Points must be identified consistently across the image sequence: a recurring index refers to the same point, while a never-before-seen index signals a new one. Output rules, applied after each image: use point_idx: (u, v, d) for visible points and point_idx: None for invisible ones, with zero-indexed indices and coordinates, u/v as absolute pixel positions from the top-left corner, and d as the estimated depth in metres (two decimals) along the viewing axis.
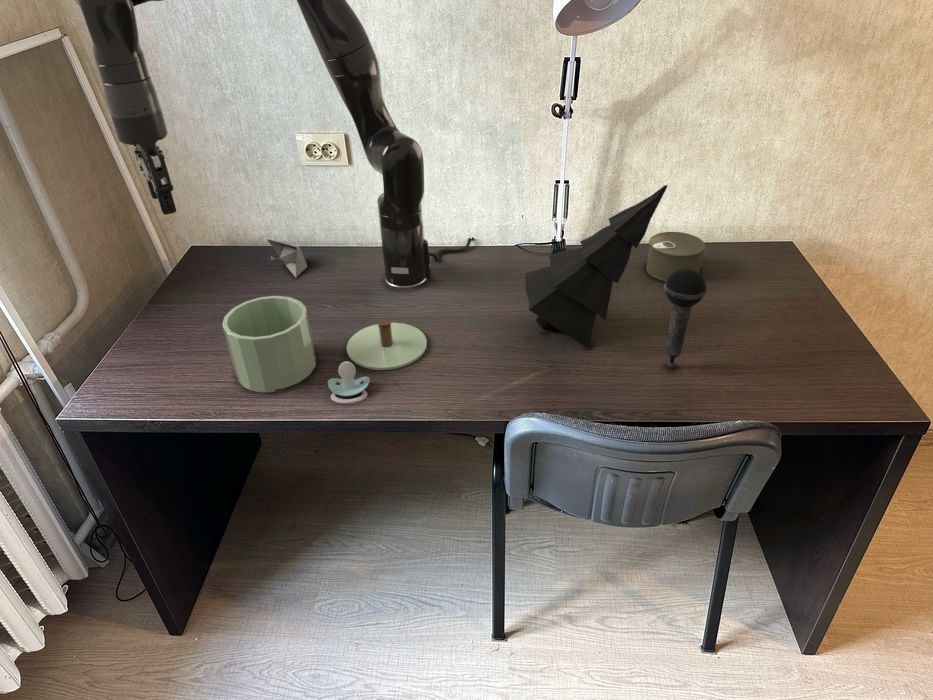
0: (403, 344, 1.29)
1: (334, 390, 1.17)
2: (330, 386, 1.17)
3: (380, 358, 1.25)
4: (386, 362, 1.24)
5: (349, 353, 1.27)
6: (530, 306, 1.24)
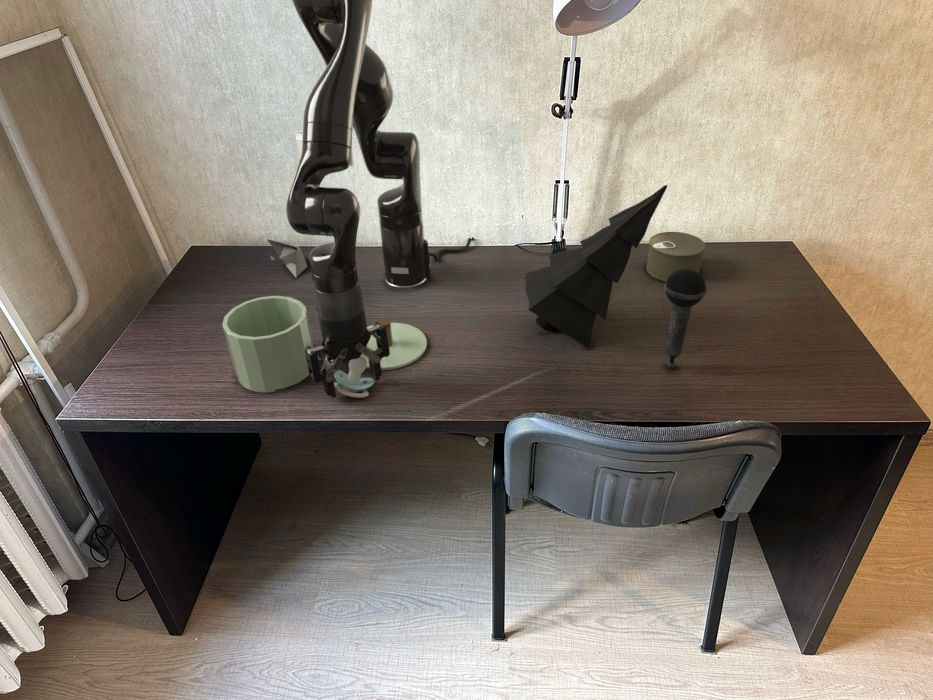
0: (403, 344, 1.29)
1: (338, 380, 1.16)
2: (335, 375, 1.16)
3: None
4: (386, 362, 1.24)
5: None
6: (530, 306, 1.24)
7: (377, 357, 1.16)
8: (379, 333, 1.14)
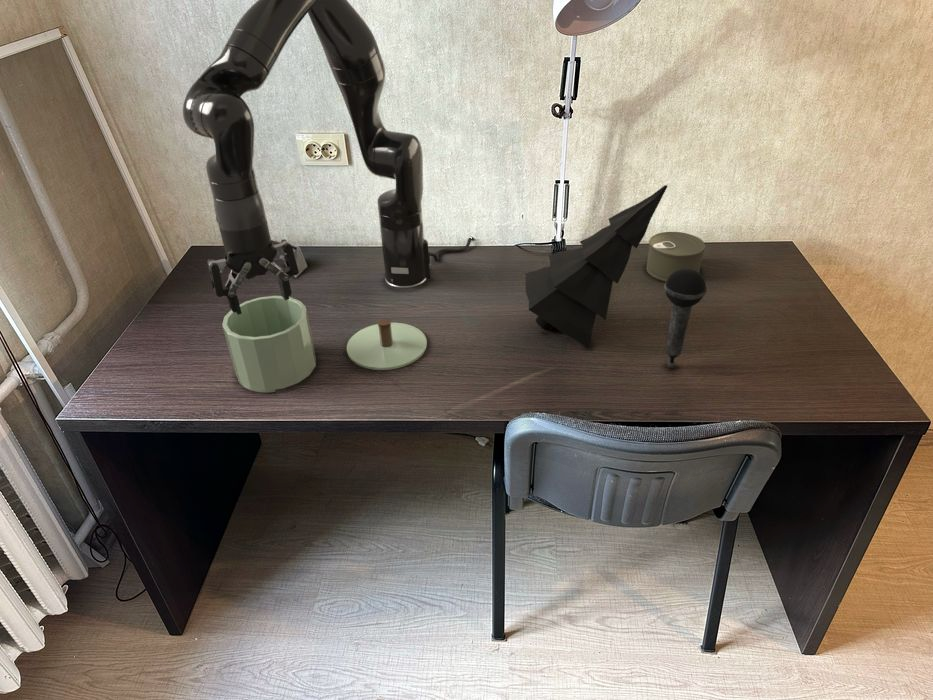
0: (403, 344, 1.29)
1: None
2: None
3: (380, 358, 1.25)
4: (386, 362, 1.24)
5: (349, 353, 1.27)
6: (530, 306, 1.24)
7: (285, 275, 1.16)
8: (285, 250, 1.14)
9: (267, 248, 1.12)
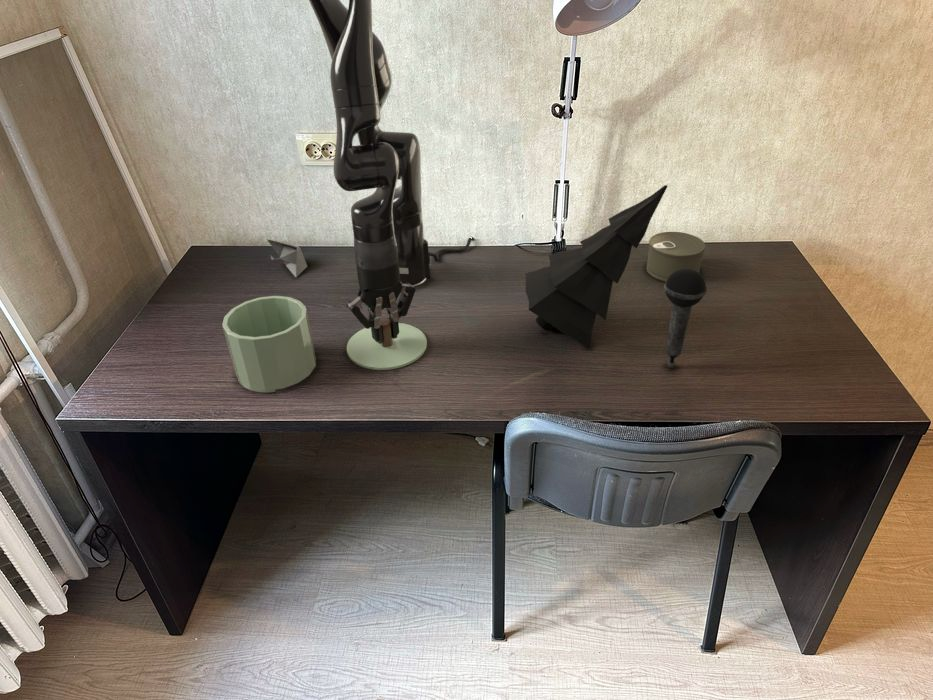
0: (403, 344, 1.29)
1: None
2: None
3: (380, 358, 1.25)
4: (386, 362, 1.24)
5: (349, 353, 1.27)
6: (530, 306, 1.24)
7: None
8: None
9: None
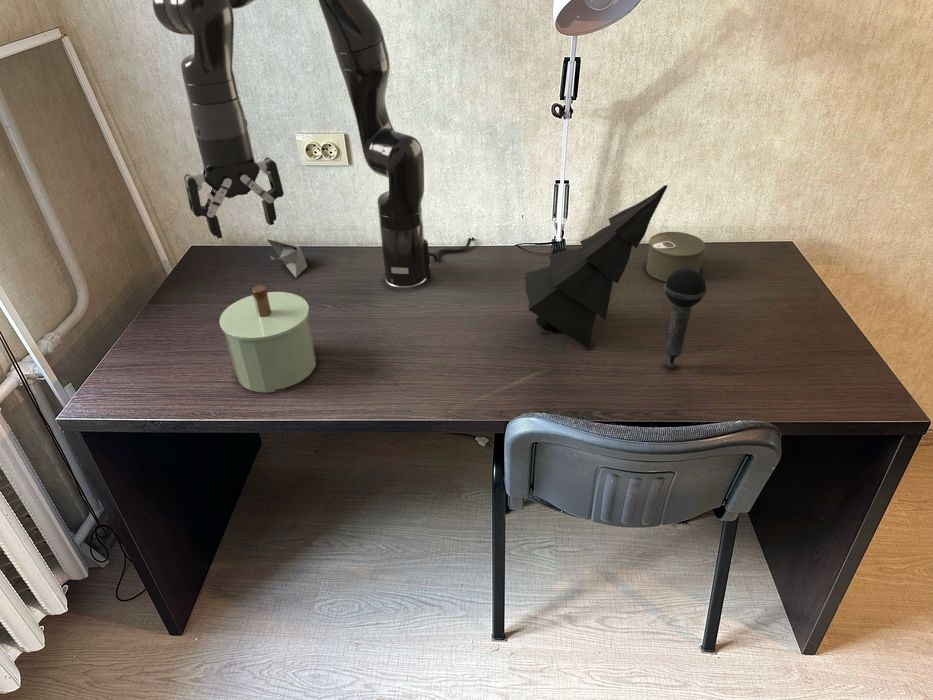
0: (282, 314, 1.18)
1: None
2: None
3: (253, 328, 1.14)
4: (258, 332, 1.13)
5: (221, 323, 1.16)
6: (530, 306, 1.24)
7: None
8: None
9: None
